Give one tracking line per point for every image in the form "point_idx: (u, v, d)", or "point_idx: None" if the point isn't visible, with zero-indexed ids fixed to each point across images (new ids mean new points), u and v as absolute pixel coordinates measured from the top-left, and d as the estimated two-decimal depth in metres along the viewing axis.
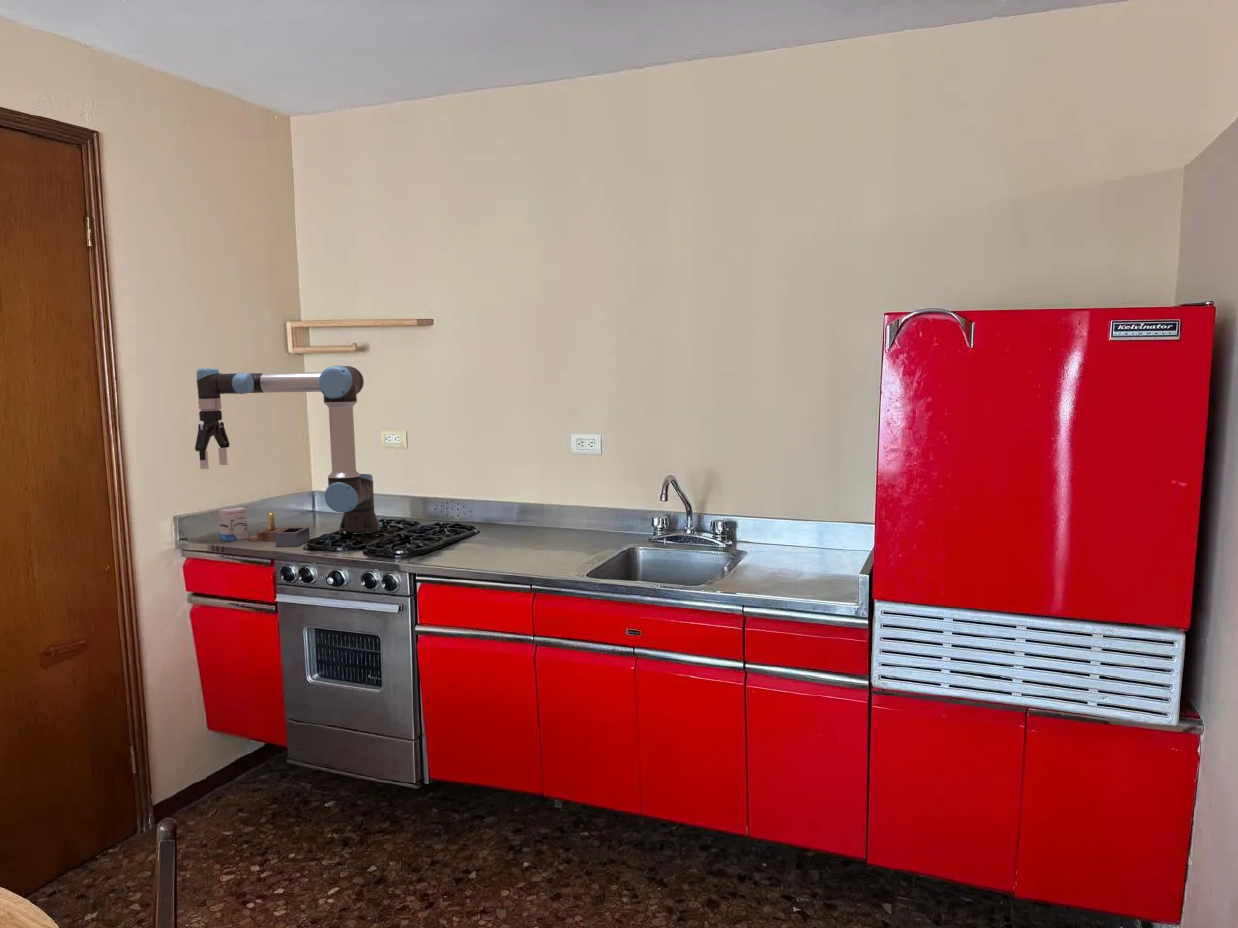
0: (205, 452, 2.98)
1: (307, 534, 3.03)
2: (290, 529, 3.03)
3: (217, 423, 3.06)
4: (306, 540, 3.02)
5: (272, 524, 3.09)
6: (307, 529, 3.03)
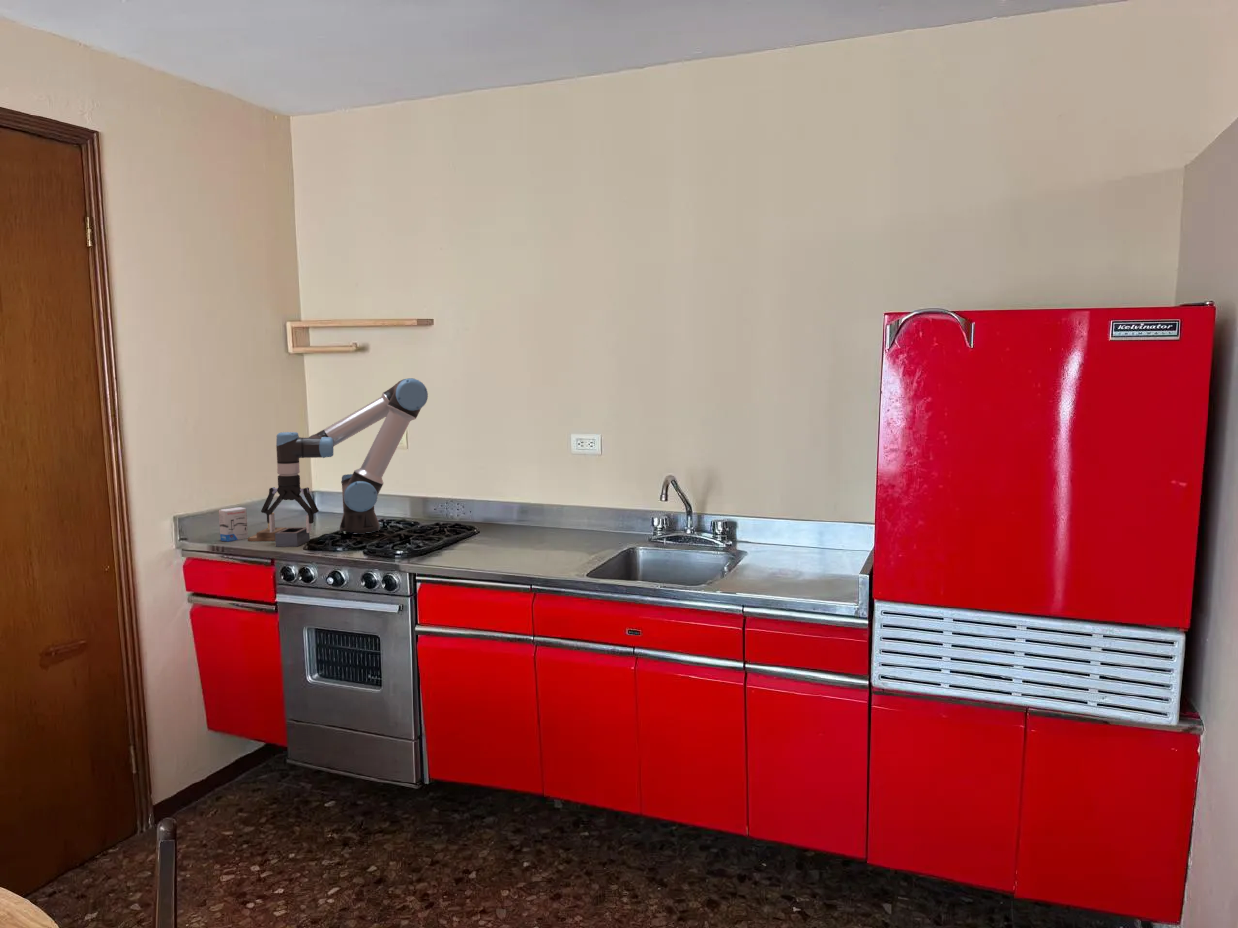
0: (269, 515, 2.98)
1: (307, 534, 3.03)
2: (290, 529, 3.03)
3: (294, 488, 2.96)
4: (306, 540, 3.02)
5: None
6: None
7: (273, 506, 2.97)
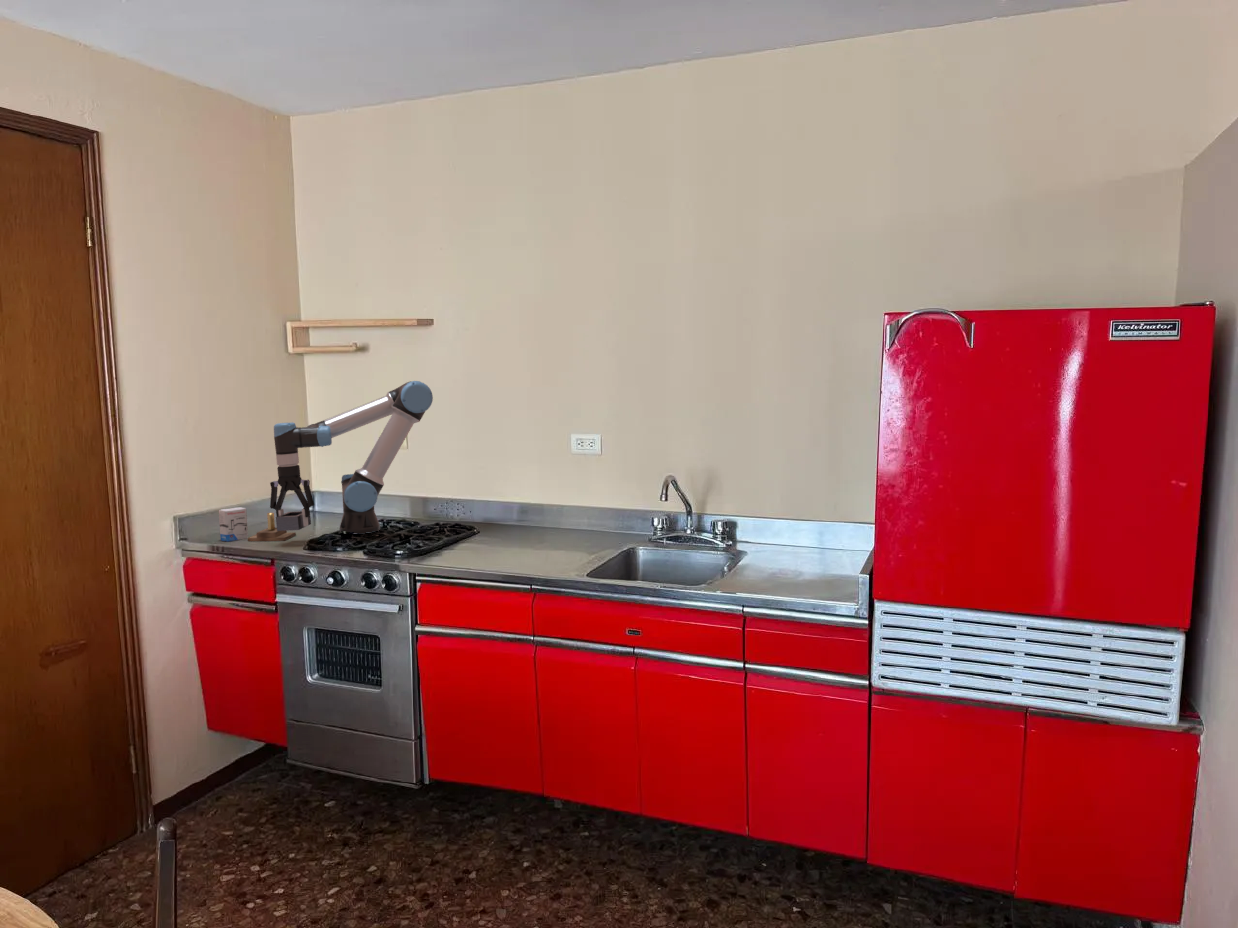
0: None
1: (308, 518, 3.03)
2: (291, 513, 3.03)
3: (295, 478, 2.96)
4: None
5: (272, 524, 3.09)
6: None
7: (279, 500, 2.97)
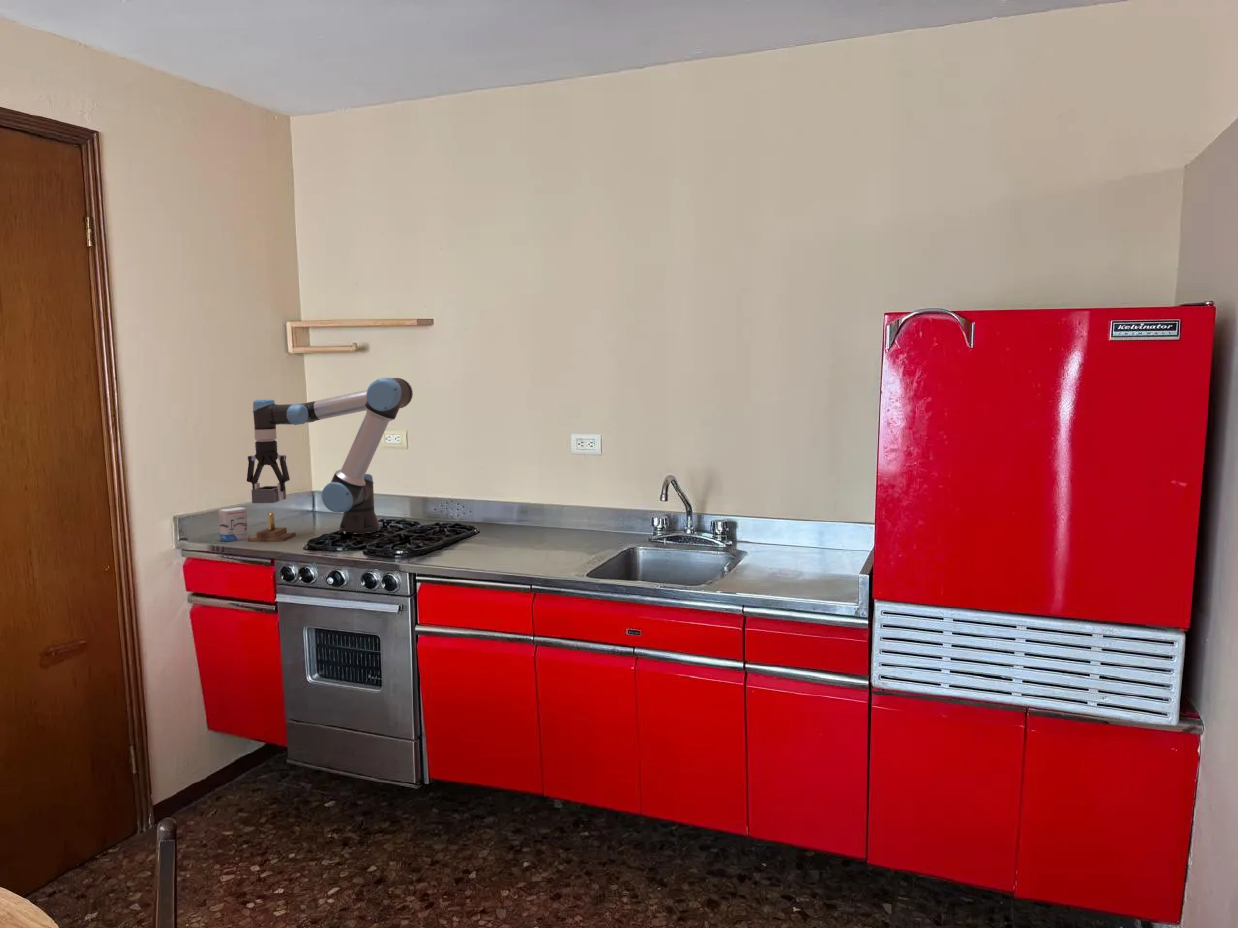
0: (254, 484, 3.07)
1: (283, 492, 3.12)
2: (267, 487, 3.12)
3: (272, 453, 3.06)
4: None
5: (272, 524, 3.09)
6: None
7: (256, 474, 3.07)
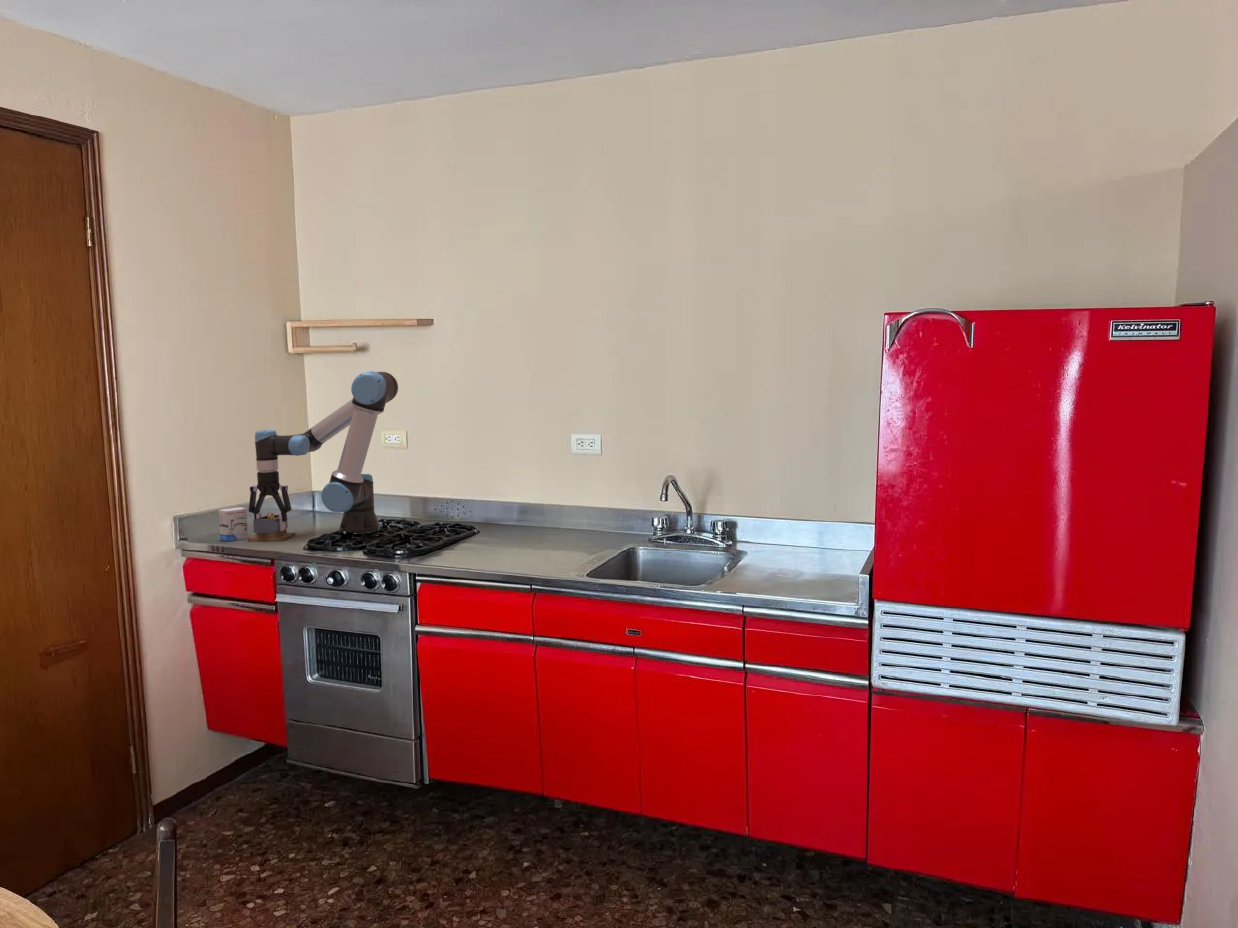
0: None
1: None
2: None
3: (274, 484, 3.07)
4: None
5: None
6: None
7: (258, 504, 3.08)
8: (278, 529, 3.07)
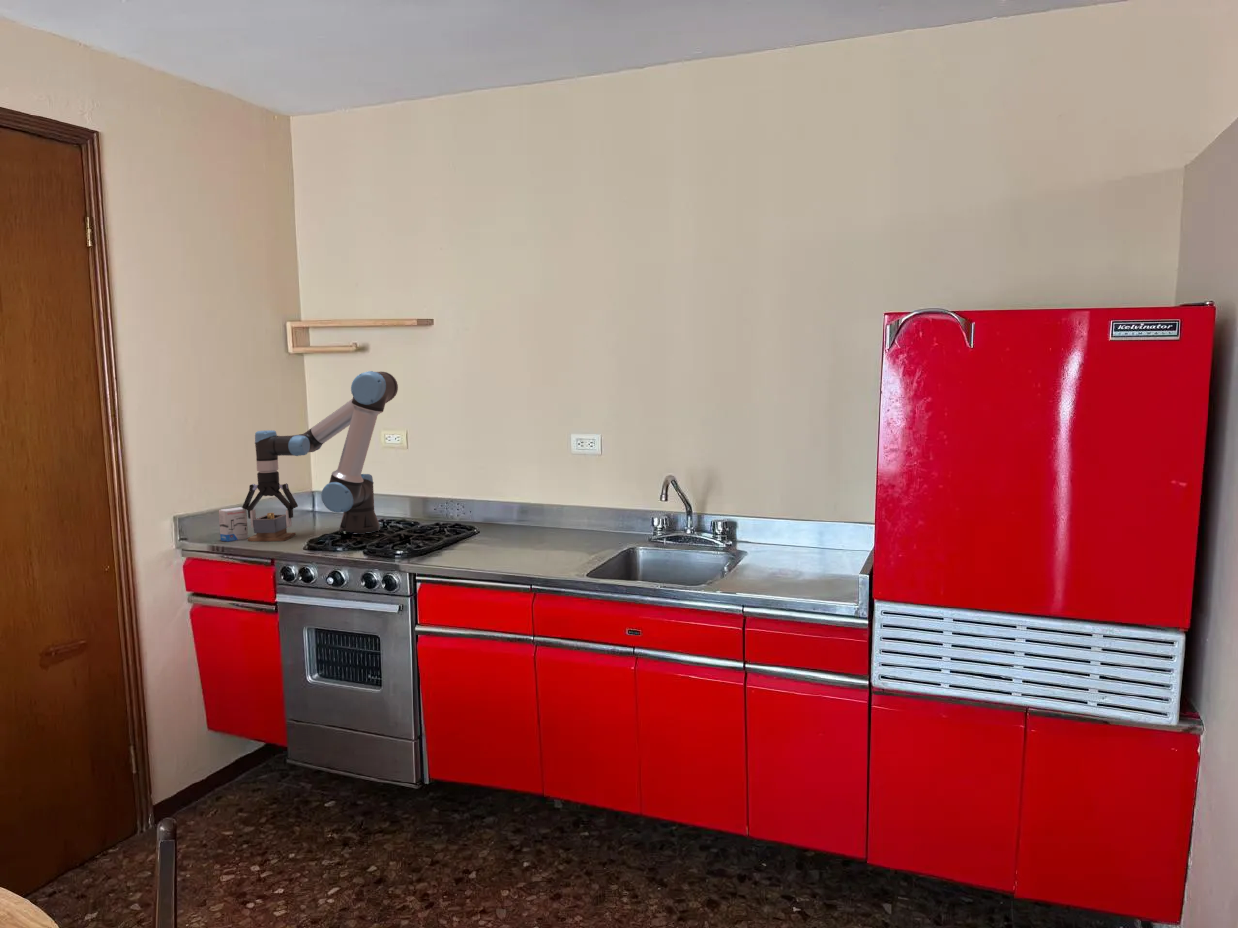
0: (250, 511, 3.09)
1: (285, 521, 3.13)
2: None
3: (273, 485, 3.07)
4: (284, 527, 3.12)
5: None
6: (285, 516, 3.14)
7: (254, 502, 3.08)
8: (278, 529, 3.07)
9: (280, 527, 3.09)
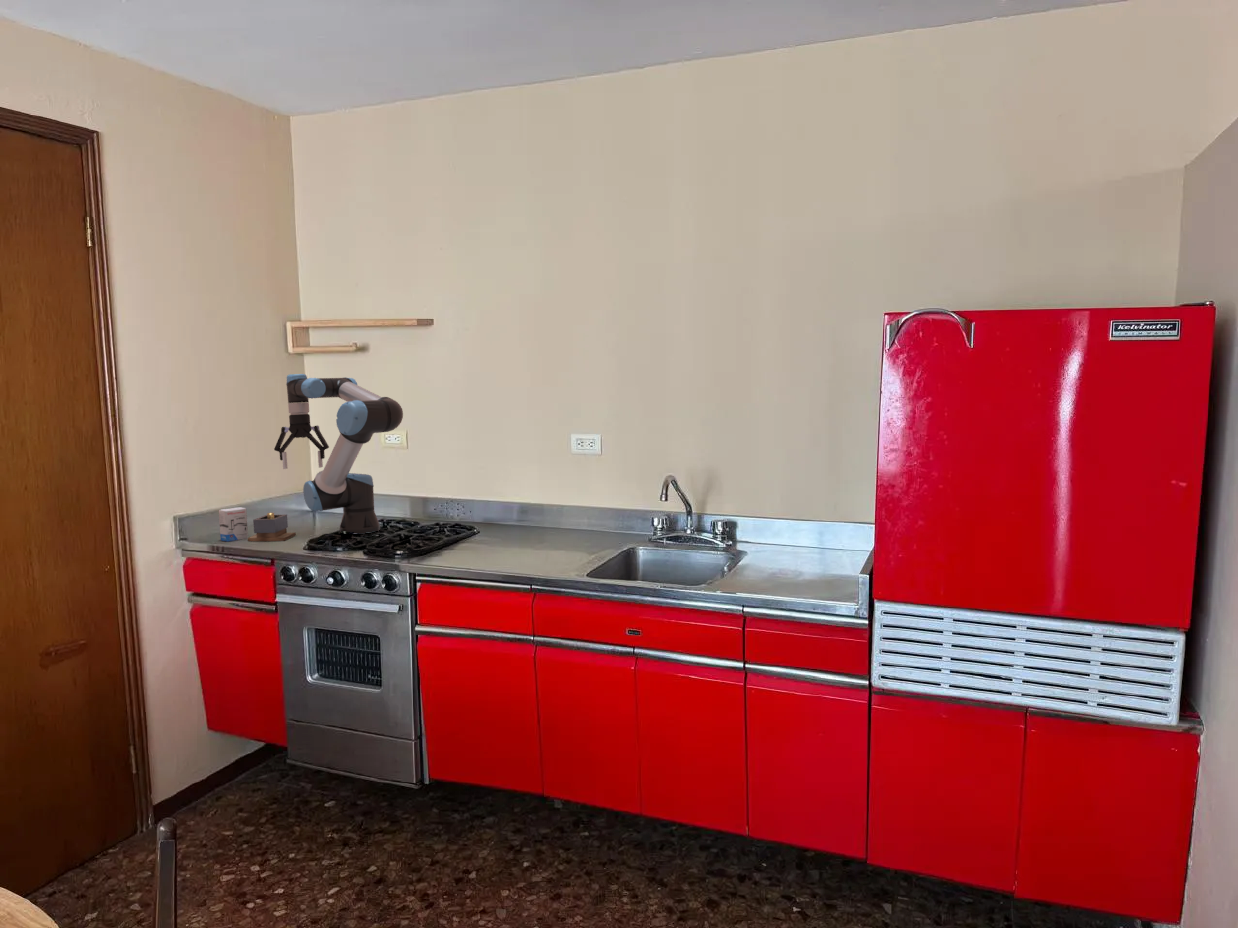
0: (282, 453, 3.18)
1: (285, 521, 3.13)
2: None
3: (305, 426, 3.17)
4: (284, 527, 3.12)
5: None
6: (285, 516, 3.14)
7: (285, 444, 3.17)
8: (278, 529, 3.07)
9: (280, 527, 3.09)
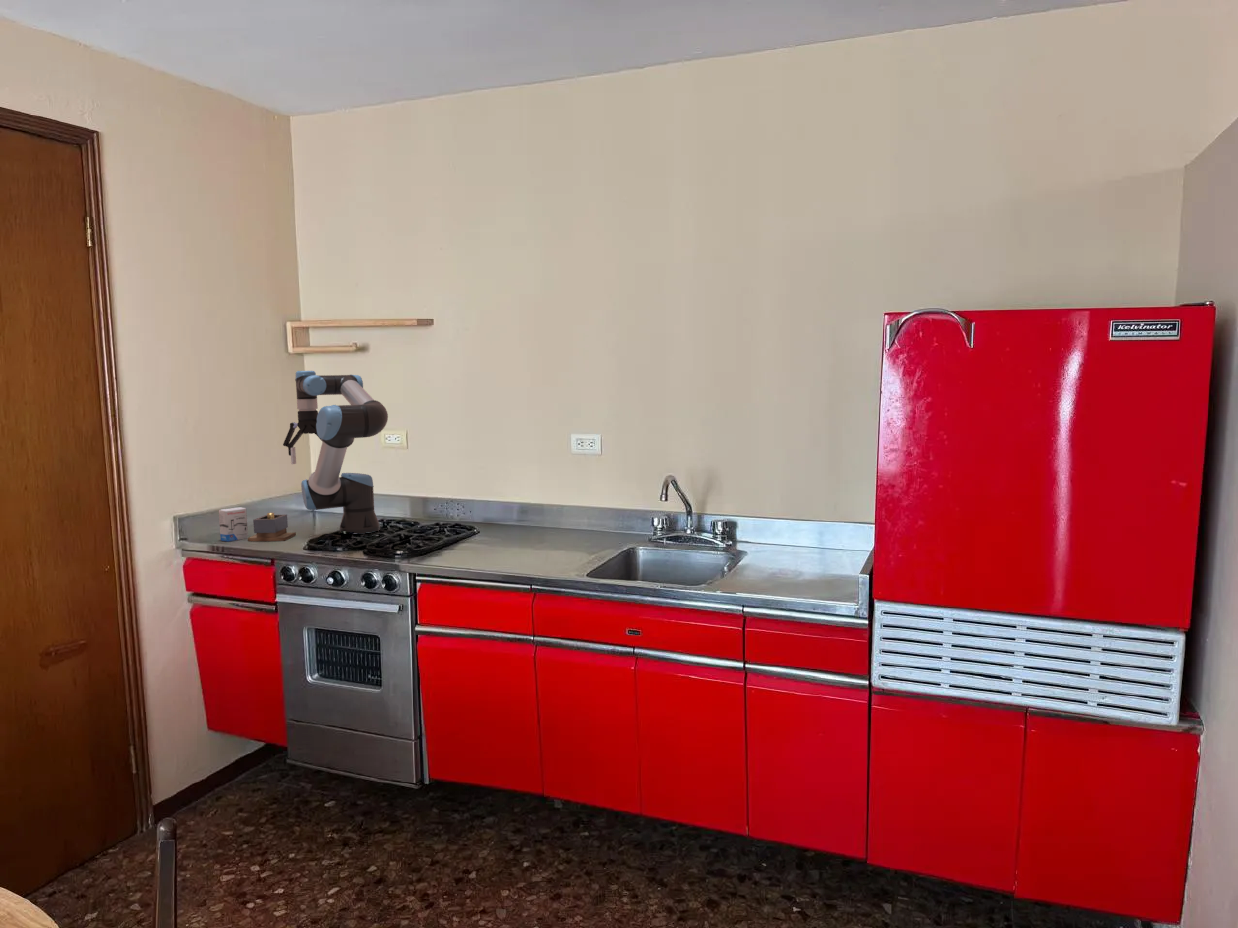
0: (290, 448, 3.22)
1: (285, 521, 3.13)
2: None
3: (313, 423, 3.20)
4: (284, 527, 3.12)
5: None
6: (285, 516, 3.14)
7: (294, 439, 3.21)
8: (278, 529, 3.07)
9: (280, 527, 3.09)
